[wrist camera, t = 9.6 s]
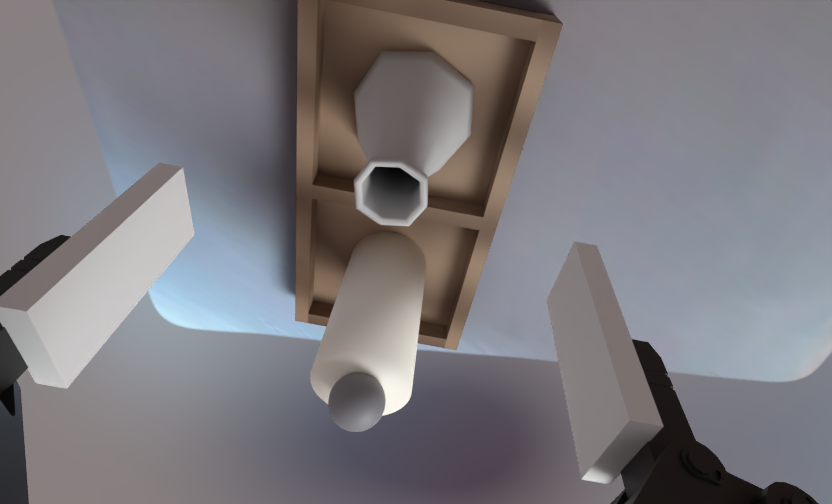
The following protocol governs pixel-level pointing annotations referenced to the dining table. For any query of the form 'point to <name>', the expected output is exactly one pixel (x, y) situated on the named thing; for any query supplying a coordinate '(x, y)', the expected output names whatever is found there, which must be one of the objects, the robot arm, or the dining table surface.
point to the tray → (447, 188)
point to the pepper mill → (372, 332)
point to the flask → (407, 131)
